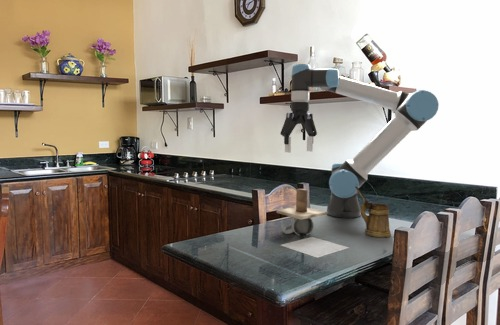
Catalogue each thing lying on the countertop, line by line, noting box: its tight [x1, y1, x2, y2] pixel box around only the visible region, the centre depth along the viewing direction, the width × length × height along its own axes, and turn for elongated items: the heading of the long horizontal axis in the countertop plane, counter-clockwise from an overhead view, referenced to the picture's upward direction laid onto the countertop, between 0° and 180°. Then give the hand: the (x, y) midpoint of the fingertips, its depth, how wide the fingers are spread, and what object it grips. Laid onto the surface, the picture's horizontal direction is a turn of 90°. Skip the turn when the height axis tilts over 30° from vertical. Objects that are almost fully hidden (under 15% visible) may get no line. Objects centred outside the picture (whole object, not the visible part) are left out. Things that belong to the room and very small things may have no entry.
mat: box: [280, 236, 350, 259], centre depth 131 cm, size 16×16×1 cm
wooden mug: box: [355, 186, 392, 238], centre depth 148 cm, size 9×14×18 cm, turn 82°
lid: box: [276, 188, 328, 220], centre depth 147 cm, size 13×13×9 cm
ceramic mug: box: [282, 217, 315, 236], centre depth 148 cm, size 11×8×8 cm
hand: (298, 151), depth 171 cm, fingers open, 13 cm apart
